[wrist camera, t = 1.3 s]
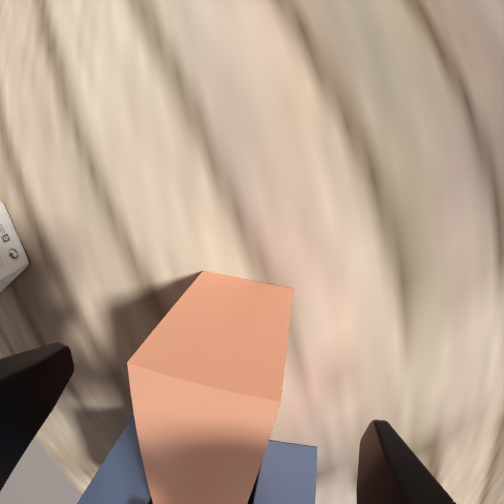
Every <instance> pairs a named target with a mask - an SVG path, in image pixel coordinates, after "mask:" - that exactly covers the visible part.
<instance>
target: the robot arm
mask: <svg viewBox="0 0 504 504" xmlns="http://www.w3.org/2000/svg"><path fill="white" fill-rule="evenodd" d="M73 371H74V364H73V360H72V355H71V350H70V348H69V347H68V346H67V345H64V344H62V343H59V342H57V343H53V344H50V345H47V346H43V347H40V348H36V349H33V350H30V351H26V352H23V353H19V354H16V355H13V356H9V357H6V358H2V359H0V491H1V489H2V488H3V486H4V484H5V483H6V481H7V479H8V478H9V476H10V474H11V473H12V471H13V469H14V468H15V466H16V465H17V463H18V461H19V460H20V458H21V457H22V455H23V454H24V452H25V450H26V449H27V447H28V446H29V444H30V443H31V441H32V440H33V438H34V437H35V435H36V434H37V432H38V431H39V429H40V428H41V426H42V425H43V423H44V422H45V420H46V419H47V417H48V416H49V414H50V413H51V411H52V410H53V408H54V406H55V405H56V403H57V401H58V399H59V397H60V396H61V394H62V392H63V390H64V388H65V386H66V385H67V383H68V381H69V379H70V377H71V376H72V374H73ZM357 504H456V503H455V502H453V499H452V498H451V497H450V496H449V495H448V493H447V492H446V491H445V490H444V489H443V487H442V486H441V485H440V484H439V483H438V481H437V480H436V479H435V478H434V477H433V475H432V474H431V473H430V472H429V471H428V469H427V468H426V467H425V466H424V465H423V464H422V462H421V461H420V460H419V459H418V458H417V456H416V455H415V454H414V453H413V452H412V450H411V449H410V448H409V447H408V446H407V444H406V443H405V442H404V441H403V440H402V438H401V437H400V436H399V435H398V434H397V432H396V431H395V430H394V429H393V428H392V426H391V425H390V424H389V423H388V422H387V421H385V420H373V421H371V423H370V424H369V426H368V428H367V429H366V431H365V433H364V435H363V436H362V438H361V441H360V450H359V465H358V478H357Z"/></svg>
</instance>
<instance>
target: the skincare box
mask: <svg viewBox="0 0 504 504" xmlns="http://www.w3.org/2000/svg"><path fill="white" fill-rule="evenodd" d="M28 264H29V262H28V259H27V256H26V254H25V251H24V249H23V246H22V244H21V242H20V239H19V237H18V235H17V233H16V231H15V228H14V226H13V224H12V221H11V219H10V217H9V214H8V212H7V210H6V207H5V205H4V203H3V202H0V293H1V292H2V291H3V290H4V289H5V288H6V287H7V286H8V285H9V284H10V283H11V282H12V281H13V280H14V279H15V278H16V277H17V276H18V275H19V274H20V273H21V272H22V271H23V270H24V269H25V268H26V267H27V266H28Z"/></svg>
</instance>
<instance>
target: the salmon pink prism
mask: <svg viewBox="0 0 504 504" xmlns="http://www.w3.org/2000/svg"><path fill="white" fill-rule="evenodd" d="M292 297H293V288H287V287H282V286H277V285H271V284H266V283H261V282H256V281H251V280H245V279H240V278H235V277H230V276H225V275H220V274H215V273H210V272H205V271H202V273H201V274H200V275H199V276H198V277H197V278H196V280H195V281H194V282H193V283H192V284H191V286H190V287H189V288H188V289H187V290H186V292H185V293H184V294H183V295H182V296H181V298H180V299H179V300H178V301H177V302H176V304H175V305H174V306H173V307H172V308H171V310H170V311H169V312H168V313H167V314H166V316H165V317H164V318H163V319H162V320H161V322H160V323H159V324H158V325H157V326H156V328H155V329H154V330H153V331H152V333H151V334H150V335H149V336H148V337H147V339H146V340H145V341H144V342H143V344H142V345H141V346H140V347H139V348H138V350H137V351H136V352H135V353H134V355H133V356H132V357H131V358H130V360H129V361H128V362H127V366H128V375H129V383H130V391H131V398H132V405H133V412H134V418H135V424H136V430H137V435H138V440H139V446H140V451H141V456H142V460H143V465H144V469H145V474H146V478H147V482H148V486H149V490H150V494H151V498H152V502H153V504H247V503H248V500H249V497H250V495H251V492H252V489H253V486H254V483H255V480H256V477H257V474H258V472H259V469H260V466H261V463H262V459H263V456H264V453H265V450H266V447H267V444H268V441H269V438H270V434H271V431H272V428H273V425H274V421H275V418H276V415H277V411H278V408H279V405H280V401H281V393H282V385H283V377H284V369H285V361H286V353H287V344H288V335H289V326H290V317H291V307H292Z"/></svg>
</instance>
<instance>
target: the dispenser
mask: <svg viewBox="0 0 504 504" xmlns="http://www.w3.org/2000/svg"><path fill="white" fill-rule="evenodd" d="M316 469H317V447H312V446H304V445H296V444H289V443H282V442H276V441H270V440H269V441H268V444H267V447H266V450H265V453H264V456H263V459H262V463H261V466H260V469H259V472H258V474H257V477H256V480H255V483H254V486H253V489H252V492H251V495H250V497H249V500H248V503H247V504H315V494H316ZM77 504H153V502H152V498H151V494H150V490H149V486H148V482H147V478H146V474H145V469H144V465H143V460H142V456H141V451H140V446H139V440H138V435H137V430H136V424H135V418H134V414H133V416H132V417H131V419H130V421H129V422H128V424H127V425H126V427H125V428H124V430H123V432H122V433H121V435H120V436H119V438H118V440H117V441H116V443H115V444H114V446H113V447H112V449H111V451H110V452H109V454H108V455H107V457H106V459H105V460H104V462H103V463H102V465H101V467H100V468H99V470H98V471H97V473H96V475H95V476H94V478H93V479H92V481H91V483H90V484H89V486H88V487H87V489H86V491H85V492H84V494H83V495H82V497H81V499H80V500H79V502H78V503H77Z"/></svg>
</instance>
